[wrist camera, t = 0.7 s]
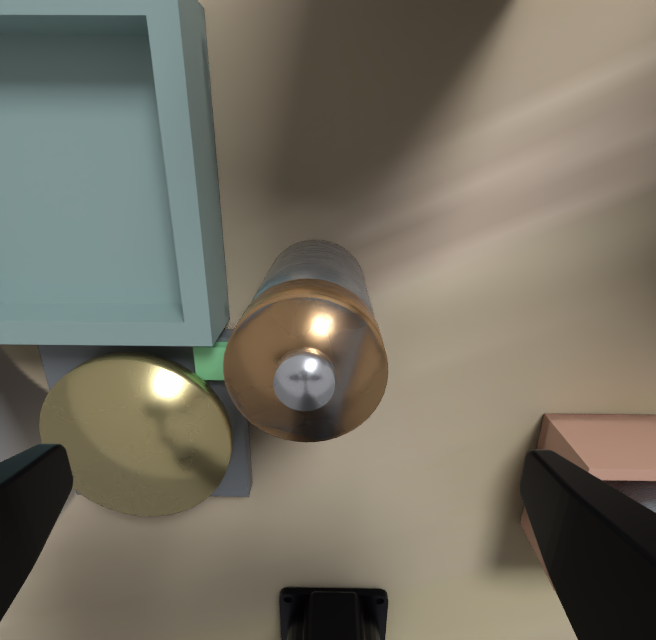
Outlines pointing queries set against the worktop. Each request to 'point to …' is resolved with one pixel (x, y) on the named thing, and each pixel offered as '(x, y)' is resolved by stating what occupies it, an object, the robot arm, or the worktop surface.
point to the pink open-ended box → (599, 449)
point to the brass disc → (139, 433)
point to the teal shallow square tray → (108, 175)
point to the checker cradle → (193, 358)
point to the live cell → (308, 347)
